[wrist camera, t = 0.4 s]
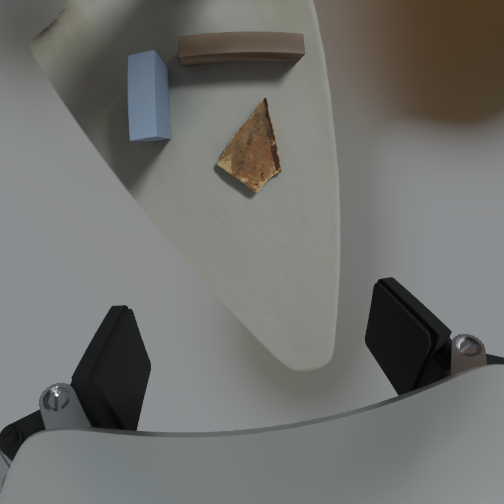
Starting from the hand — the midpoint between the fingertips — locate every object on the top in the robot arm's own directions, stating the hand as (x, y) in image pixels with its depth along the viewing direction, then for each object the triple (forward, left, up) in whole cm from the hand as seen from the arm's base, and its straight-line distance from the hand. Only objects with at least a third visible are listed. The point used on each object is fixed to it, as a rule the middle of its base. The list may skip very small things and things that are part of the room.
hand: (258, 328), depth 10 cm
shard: (-7, +2, -29) cm, 30 cm away
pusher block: (-14, -9, -28) cm, 33 cm away
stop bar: (-20, +2, -28) cm, 35 cm away
